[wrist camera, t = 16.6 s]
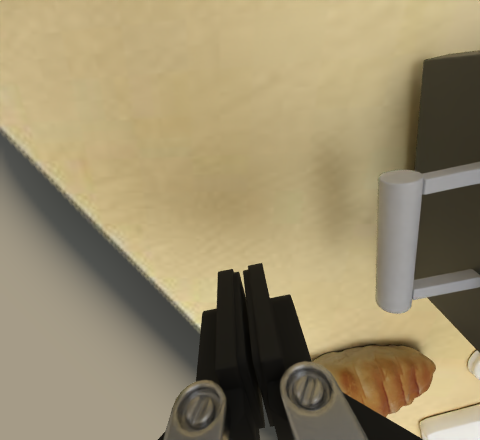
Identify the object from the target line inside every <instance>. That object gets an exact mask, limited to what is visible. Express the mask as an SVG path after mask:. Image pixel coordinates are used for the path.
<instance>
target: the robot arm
mask: <svg viewBox="0 0 480 440" xmlns="http://www.w3.org/2000/svg"><path fill="white" fill-rule="evenodd" d="M243 275H244V284H245V293H244V289H243V285H242V281H241V277H240V274H239V272H235V273H234V271H233V269H230V270H225V271H220V272H218V288H217V309H212V310H207V311H204V312H203V314H202V323H201V334H200V345H199V356H198V366H197V377H196V382H194V383H192V384H190V385H189V386H187V387H186V388H185V389H184V390H183V391H182V392H181V393H180V395H179V396H178V397H177V399H176V401H175V403H174V406H173V408H172V411H171V415H170V418H169V421H168V425H167V428H166V431H165V432H164V433H163V435H162V436H161V437H160V438H159V439H158V440H260V435H259V429H260V428H265V422H264V413H263V405H262V398H263V402H264V405H265V409H266V413H267V416H268V420H269V424H270V426H275V429H276V433H277V437H278V440H423V439H421V438H420V437H418V436H416V435H414V434H413V433H411V432H409V431H408V430H406V429H404V428H403V427H401V426H399V425H397V424H396V423H394V422H392V421H391V420H389V419H387V418H386V417H384V416H382V415H381V414H379V413H377V412H375V411H374V410H372V409H370V408H369V407H367V406H365V405H364V404H362V403H360V402H359V401H357V400H355V399H353V398H352V397H350V396H348V395H347V394H345V393H343V392H342V391H341V389H340V387H339V385H338V383H337V381H336V380H335V378H334V377H333V375H332V374H331V373H330V371H329V370H327V369H326V368H325V367H323V366H322V365H319V364H317V363H314V362H312V361H311V357H310V354H309V351H308V348H307V345H306V342H305V339H304V335H303V332H302V329H301V326H300V323H299V320H298V317H297V313H296V310H295V307H294V304H293V301H292V298H291V295H285V296H279V297H274V298H270V297H269V293H268V288H267V283H266V279H265V274H264V270H263V265H262V263H260V264H255V265H250V266H248V270H245V271H243ZM245 294H246V297H245ZM261 395H262V397H261Z"/></svg>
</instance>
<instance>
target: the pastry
mask: <svg viewBox="0 0 480 440" xmlns="http://www.w3.org/2000/svg"><path fill="white" fill-rule="evenodd" d="M313 362H314V363H317V364H319V365H322V366H323V367H325V368H326V369H327V370H329V371H330V373H331V374H332V375H333V377H334V378H335V380H336V381H337V383H338V385H339V387H340V389H341V391H342V392H343V393H345V394H347V395H348V396H350V397H352V398H353V399H355V400H357V401H359V402H360V403H362V404H364V405H365V406H367V407H369V408H370V409H372V410H374V411H375V412H377V413H379V414H381V415H382V416H384V417H386V416H387V415H388V414H391V413H396V412H397V411H398V410H399V409H400V408H401V407H402V406H407V405H410V404H411V403H412V402H413V400H414V398H416V397H418V396H420V395H421V394H422V393H424V392H425V391H427V390H428V388H429V387H430V384H431V381H432V378H433V373H434V371H435V369H436V367H435V364H434V363H433V362H432V360H430V359H429V358H427V357H426V356H424V355H423V354H422V353H420V352H419V351H417V350H416V349H414V348H411V347H405V346H403V345H401V346H395V345H389V346H377V345H372V346H365V347H355V348H351V349H345V350H344V351H343V352H339V353H336V352H331V353H327V354H324V355H322V356H320V357H319V358H317V359H315V360H314V361H313Z"/></svg>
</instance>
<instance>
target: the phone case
mask: <svg viewBox="0 0 480 440" xmlns="http://www.w3.org/2000/svg"><path fill="white" fill-rule="evenodd" d="M420 429H421V435H422V439H423V440H480V404H478V405H475V406H471V407H467V408H463V409H460V410H456V411H452V412H448V413H445V414H441V415H437V416H434V417H430V418H427V419H424V420H422V421H421V422H420Z"/></svg>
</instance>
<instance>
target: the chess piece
mask: <svg viewBox="0 0 480 440" xmlns="http://www.w3.org/2000/svg"><path fill="white" fill-rule="evenodd" d="M468 369H469V371H470V372H471V373H472V374H474V375H475V377H476V378H477V379H479V380H480V353H479V352H478V350H476V351H475V352H474V353H473V354H472V356H471V357H470V359H469V361H468Z"/></svg>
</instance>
